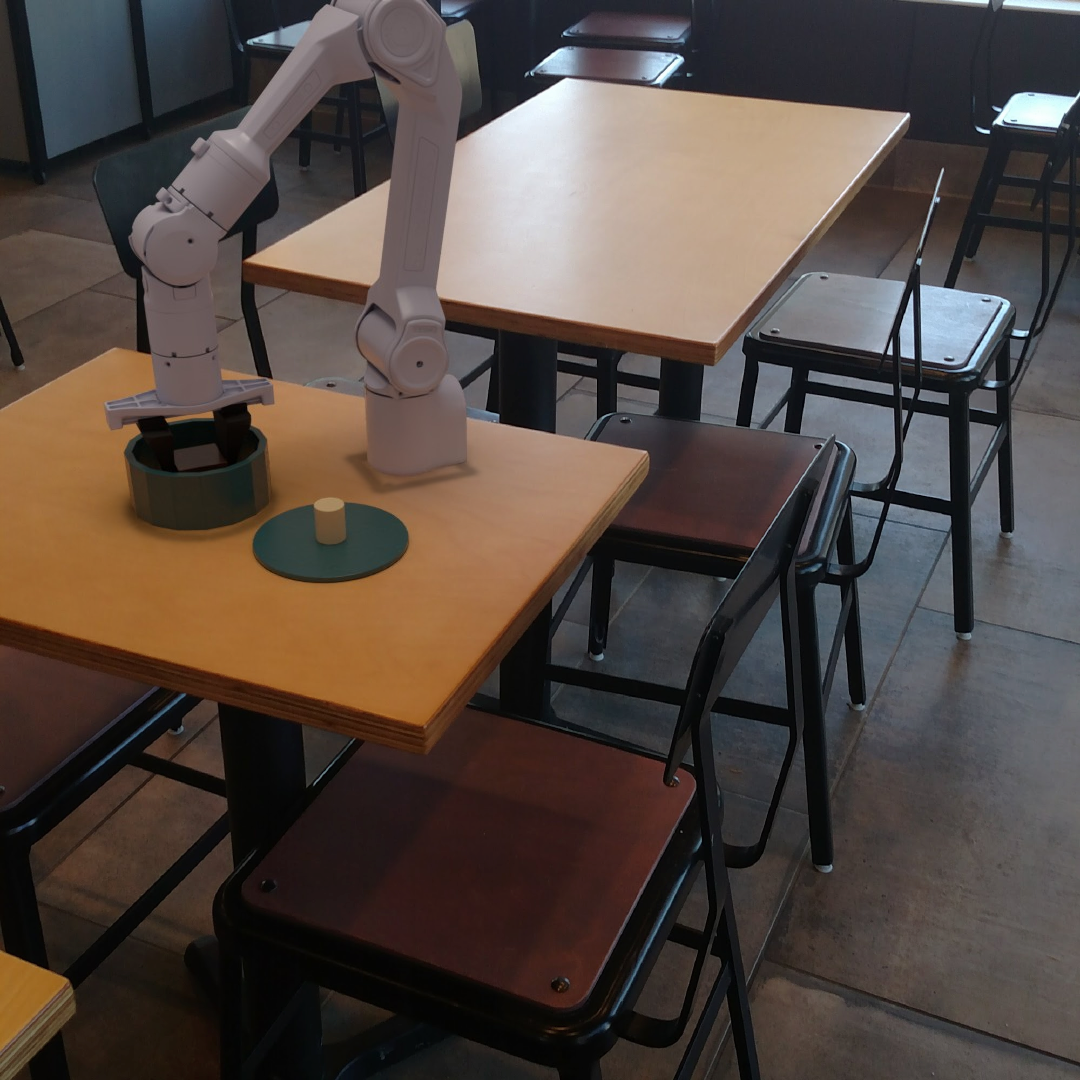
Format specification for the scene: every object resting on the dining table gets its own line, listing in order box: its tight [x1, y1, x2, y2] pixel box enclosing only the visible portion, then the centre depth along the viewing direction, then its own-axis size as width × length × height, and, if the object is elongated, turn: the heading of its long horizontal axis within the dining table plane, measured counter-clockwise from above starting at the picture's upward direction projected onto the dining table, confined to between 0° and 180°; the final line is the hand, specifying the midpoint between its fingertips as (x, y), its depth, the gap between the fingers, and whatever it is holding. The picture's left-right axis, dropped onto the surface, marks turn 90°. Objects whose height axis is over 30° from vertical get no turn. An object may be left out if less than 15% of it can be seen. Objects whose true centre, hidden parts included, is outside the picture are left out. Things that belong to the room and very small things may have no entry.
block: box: [174, 443, 228, 473], centre depth 115 cm, size 4×4×4 cm
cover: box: [252, 496, 410, 583], centre depth 108 cm, size 13×13×4 cm
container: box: [123, 417, 273, 531], centre depth 114 cm, size 12×12×6 cm
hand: (200, 486), depth 115 cm, fingers closed on block, 4 cm apart
